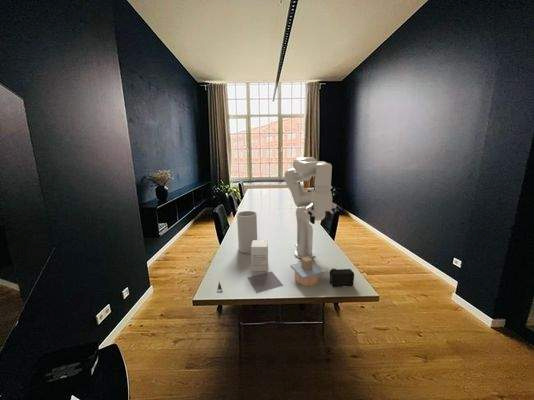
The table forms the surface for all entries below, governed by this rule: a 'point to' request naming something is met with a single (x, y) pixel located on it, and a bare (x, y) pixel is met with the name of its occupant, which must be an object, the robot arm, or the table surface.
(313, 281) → the bowl
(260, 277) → the mat
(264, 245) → the supplement box
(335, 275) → the digital camera
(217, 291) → the smartphone
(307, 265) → the lid
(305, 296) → the table surface
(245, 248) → the cylinder vase
